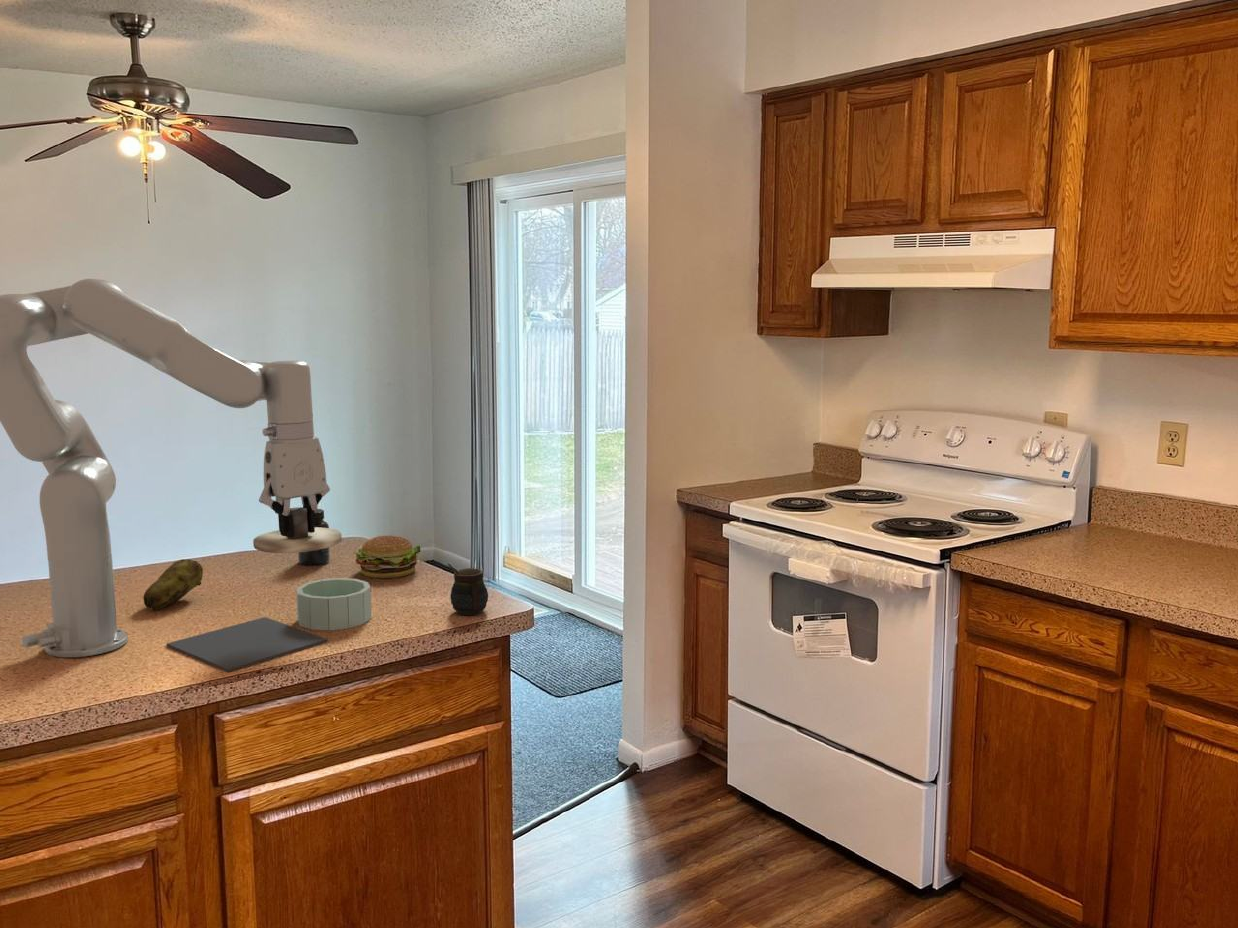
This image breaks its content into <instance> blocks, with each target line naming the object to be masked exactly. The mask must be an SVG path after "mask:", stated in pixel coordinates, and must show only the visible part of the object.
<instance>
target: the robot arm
mask: <svg viewBox="0 0 1238 928" xmlns="http://www.w3.org/2000/svg"><path fill="white" fill-rule="evenodd" d="M87 334H90V335H92V336H93V337H95V338H97V339H100V340H102V341H103V342H106V343H108V344H110V345H112V346H113V347H116V348H117V349H120V350H121V351H123V352H126V353H128V354H130V355H131V356H133V357H135V358H137V359H139V360H140V361H143V362H145V364H148V365H151V367H153V368H154V369H156V370H158V371H160V372H162V373H164V374H166V375H168V376H170V377H171V378H173V379H174V380H177V381H178V382H180V383H181V384H183V385H185V386H187V387H188V388H191V389H193V390H194V391H196V392H199V393H201V394H203V395H204V396H206V397H208V398H210V399H212V400H214V401H216V402H218V403H220V404H223V405H224V406H227V407H228V408H229V407H230V408H234V409H246V408H248V407H251V406H253V405H254V404H256V403H257V402H259V401H266V412H267V413H266V414H267V427H265V428H263V429H262V435H263V436H264V437H268V441H266V443H265V448H264V456H263V457H264V458H263V489H262V492H261V494H260V496H259V499H258V502H259V503H260V504H262V505H265V506H267V507H269V508H270V509H271V510H273V511H274V513H275V514H276V515H278V519H277V520H278V530H279V531H280V533H281V535H282V536H285V537H289V538H290V537H293V536H294V529H293V516H292V515H289V512H290V508H291V500H292V499H295V498H300V499H301V503H302V507H303V508H307V522H308V532H310V533H313V532H315V527H314V526H315V513H314V510H316V509H318V504H319V503H320V502H321V501H322V499H323V498H324V497H325V496H326V495H327V494H328V493H329V492H330V490H331V488H330V486H329V485H328V483H327V474H326V465H325V459H324V454H323V450H322V446H321V442H320V439H319V437H317V436H316V437H315V430H314V415H313V414H314V413H313V398H312V381H311V369H310V366H309V365H308V363H307V362H305V361H302V360H276V361H272V362H267V361H263V362H262V361H254V360H240V359H239V360H237V359H235V358H233V357H231V356H229V355H227V354H226V353H224V352H221V351H220V350H218V349H215V348H214V347H212V346H211V345H209V344H207V343H206V342H203V341H202V340H200V339H199V338H197V337H196V336H194V335H193V334H192V333H191V332H190V331H189V330H187V328H185V327H184V326H183V324H181V323H180V322H179V321H177V320H175V319H174V318H172V317H171V316H169V315H166V314H164V313H163V312H161V311H159V310H157V309H154V308H153V307H151V306H149V305H147V304H145V303H143V302H142V301H139V300H137V299H136V298H133V297H132V296H131V295H128V294H127V293H125V292H123V291H122V289H121V288H120V287H118V286H117V285H116V284H115V283H112V282H111V281H108V280H105V279H98V278H85V279H81V280H78V281H76V282H75V283H73V284H72V285H67V286H64V287H63V286H62V287H57V288H53V289H48V290H47V289H46V290H40V291H36V292H30V293H7V294H1V295H0V424H1V426H2V428H3V429H4V431H5V432H6V434H7V436H8V438H9V440H10V442H11V443H12V445H13V447H14V448H15V450H16V451H17V452H18V454H20V455H21V456H22V457H24V458H25V459H27V460H29V461H33V462H39V463H42V464H43V466H44V468H45V469H46V471H47V473H48V475H47V476H46V477H45V479H44V480H43V482H42V484H41V487H40V492H39V509H40V513H41V518H42V524H43V528H44V534H45V542H46V543H45V545H46V554H47V562H48V563H47V564H48V573H49V574H48V576H49V577H48V578H49V584H50V585H49V586H50V588H49V589H50V598H51V612H52V621H53V622H49V623H46V629H43V630H42V631H41V632H39V633H31V634H27V635H23V637H22V641H21V642H22V645H23V647H24V648H30V647H35V646H37V647H39V648H44V651H45V653H47V655H49V656H52V657H58V658H83V657H91V656H97V655H100V654H101V655H102V654H105V653H109V652H111V651H114V650H117V649H119V648H121V647H122V646H125V645H126V644H127V642H128V640H129V637H128V635H129V634H128V633H127V632H126V631H125V630H123V629H121V628H118V622H117V609H116V596H115V592H116V591H115V582H114V567H113V554H112V544H111V534H110V525H109V520H108V513H107V503H108V501H109V500H110V499H111V498H112V497H113V495H114V493H115V490H116V488H117V487H116V486H117V478H116V473H115V471H114V469H113V466H112V465H111V463H110V460H109V459H108V457H107V456H106V453H105V452H104V450H103V449H102V446H101V445H100V443H99V441H98V440H97V438H96V437H95V434H94V433H93V431H92V429H91V428H90V426H89V424H88V422H87V421H86V419H85V417H84V416H83V415H82V414H81V412H80V411H78V409H77V408H75V407H74V406H73V405H71V404H70V403H69V402H65V401H62V400H59V399H56V398H54V396H53V394H52V393H51V391H50V390H49V388H48V387H47V385H46V383H45V380H44V378H43V377H42V376H41V374H40V372H39V370H38V369H37V368H36V366H35V365H34V363H33V362H32V361H31V360H30V357H29V356H28V352H27V351H28V350H27V349H28V347H29V346H36V345H40V344H45V343H49V342H50V343H51V342H53V341H54V342H55V341H59V340H64V339H70V338H73V337H79V336H83V335H87ZM272 497H273V498H274V497H275V500H274V499H273V498H272Z"/></svg>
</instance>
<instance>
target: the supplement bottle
mask: <svg viewBox="0 0 1238 928" xmlns="http://www.w3.org/2000/svg"><path fill="white" fill-rule="evenodd" d="M314 513H315V526H314V527H320V528H330V525H329V524H328V522H326V521H325V520H324V519H325V510H324V509H322V508H317V509H316V510H314ZM330 552H331V551H330V547H328V548H324V549H320V550H314V551H308V552H298V553H297V558H298V559H297V560H298V563H299V564H300V565H302V566H306V567H309V566H310V567H315V566H316V567H317V566H322V565H326V564H328V563H329V561H330V558H331V555H330Z"/></svg>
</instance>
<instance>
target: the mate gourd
mask: <svg viewBox="0 0 1238 928" xmlns="http://www.w3.org/2000/svg"><path fill="white" fill-rule="evenodd" d="M447 566H448V567H449V568H450V569H451V570H452V571H453V572H454V573H453V580H454V582H453V584H452V587H451V590H450V595H449V596H450V603H451V606H452V608H453V610H454V611H456V613H458V614H459V615H462V616H473V615H474V616H475V615H479V614H481V613H482V612H483V611H484V610H485V609H486V607H487V604H488V600H489V593H488V589H487V586H486V584H485V581H484V571H483V570H482V569H480V568H477V567H467V568H461V569H455V568H454V567H453V566H452V565H451V563H447Z"/></svg>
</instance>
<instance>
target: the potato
mask: <svg viewBox="0 0 1238 928" xmlns="http://www.w3.org/2000/svg"><path fill="white" fill-rule="evenodd" d="M203 575H204V567H203V566H202V565H201V563H199V562H198V561H197V560H194V559H183V558H182V559H179V560H177V561H174V562H173V563H172V564H171V565H170V566H169V567H167V568H166V569H165V570H164V571H163V572H162V574H161V575H160V576H159V577H158V578H157V580H155V581H154V582H153V583H152V584H151V585H150V586H149V587H148V588H147V589H146V590H145V592H144V594H143V595H142V596H143V597H142V599H143V603H144V605H145V607H146V608H148V609H151V610H152V611H155V610H159V609H162V608H164V607H167V606H168V605H172V604H175V603H177V602H178V601H179V600H180V599H182V598H183V597H185V596H186V595H187V594H188V593H189V592H190V591H192V590H193V589H195V588H196V587H197V586H201V584H202V580H203V577H204V576H203Z"/></svg>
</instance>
